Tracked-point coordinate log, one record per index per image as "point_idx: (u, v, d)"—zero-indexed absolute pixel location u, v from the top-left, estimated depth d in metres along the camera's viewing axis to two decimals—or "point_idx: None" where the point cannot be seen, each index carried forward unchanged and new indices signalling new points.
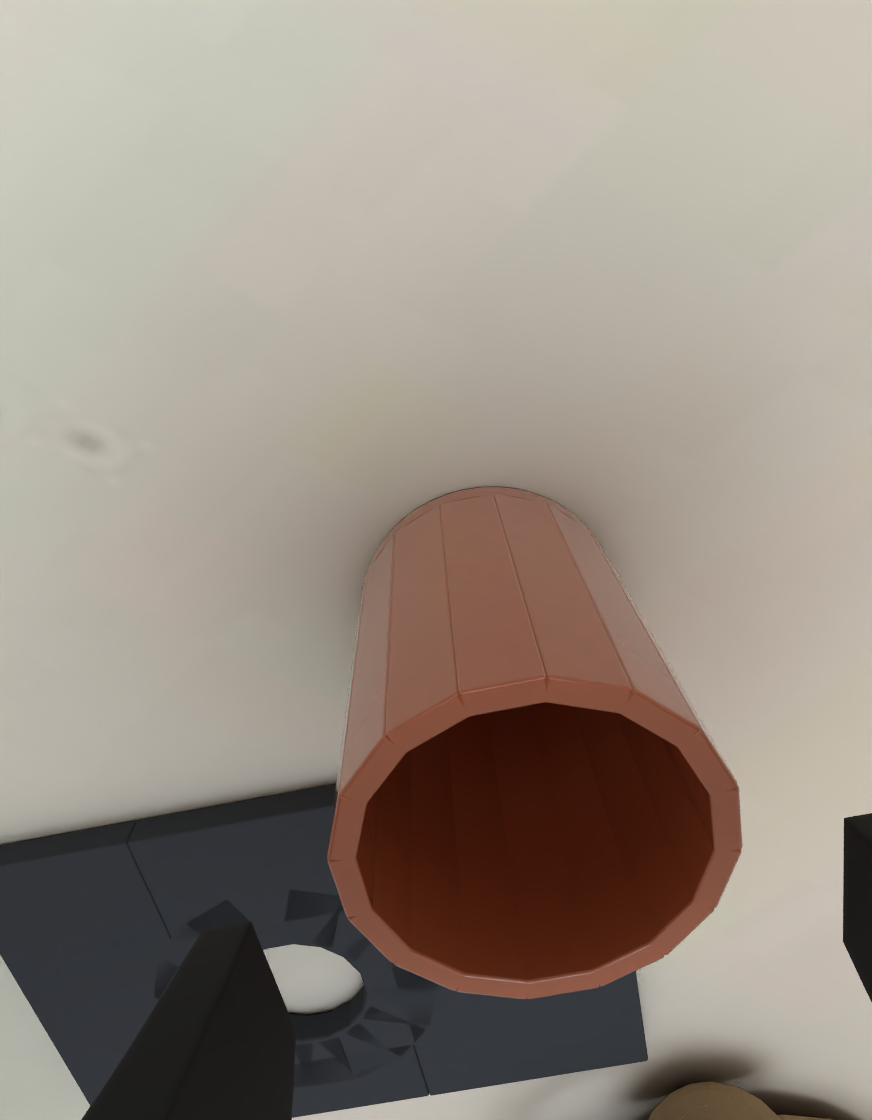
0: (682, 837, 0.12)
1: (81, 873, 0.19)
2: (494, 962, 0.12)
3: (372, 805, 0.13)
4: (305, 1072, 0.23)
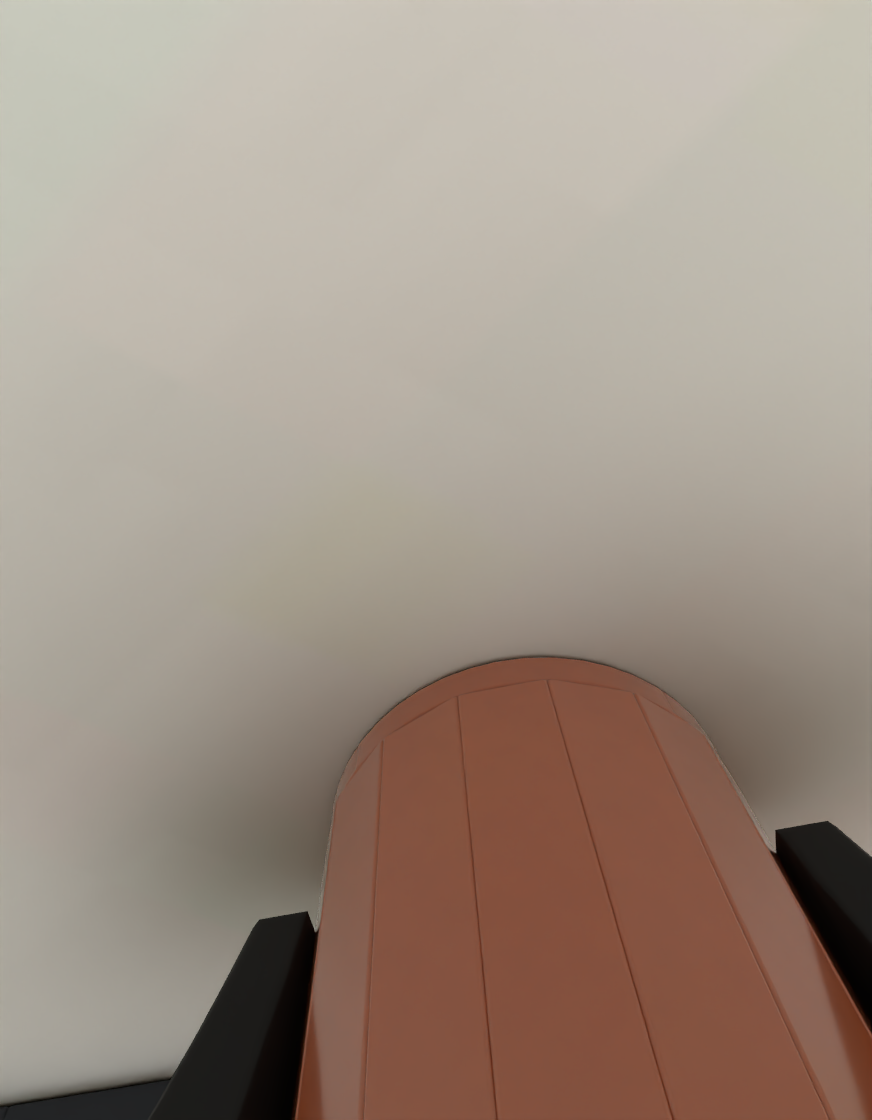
0: None
1: None
2: None
3: None
4: None
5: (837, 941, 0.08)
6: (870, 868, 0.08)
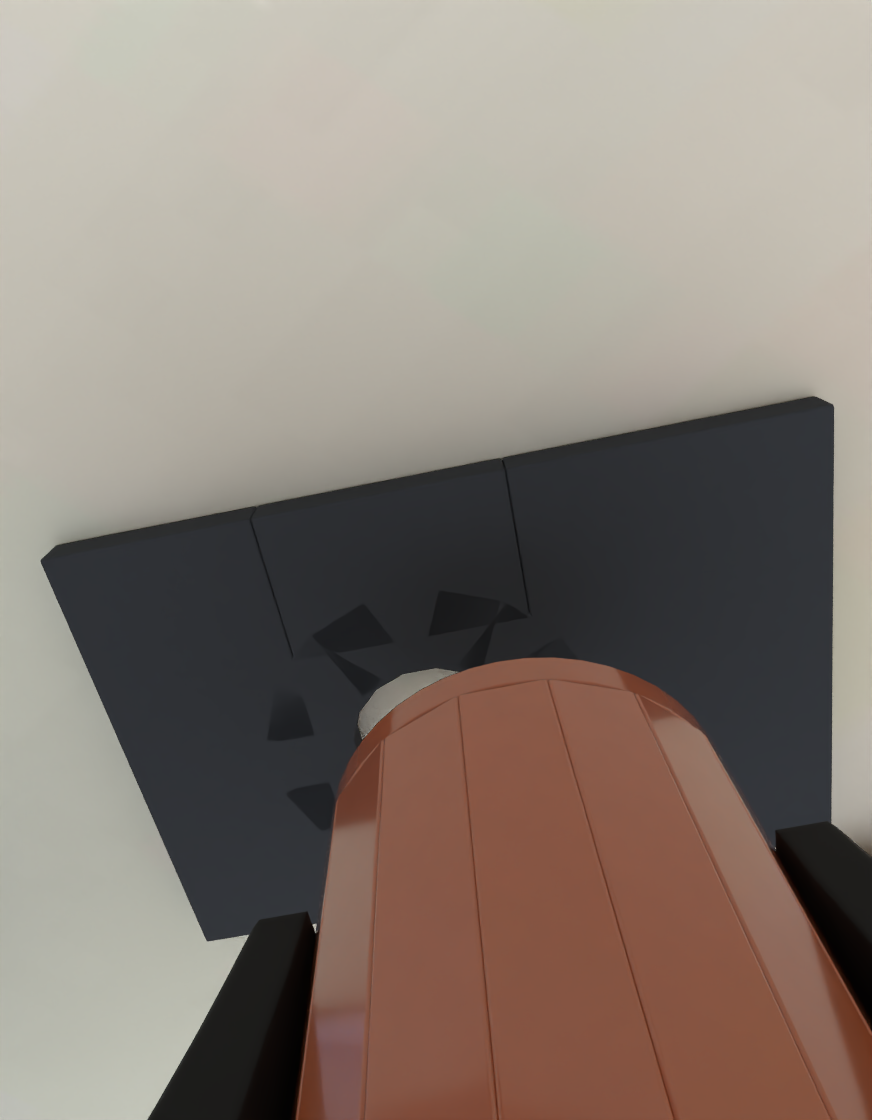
0: None
1: (193, 562, 0.16)
2: None
3: None
4: None
5: (837, 941, 0.08)
6: (870, 868, 0.08)
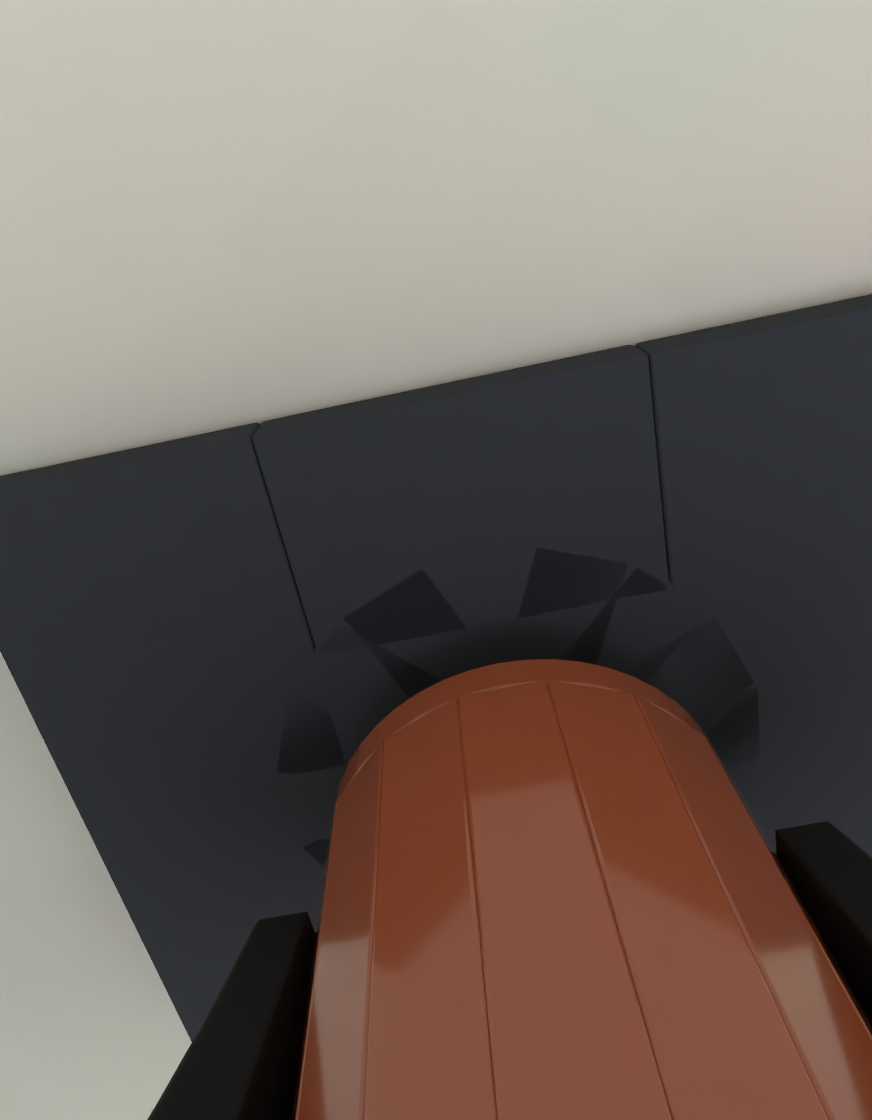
0: None
1: (164, 506, 0.11)
2: None
3: None
4: None
5: (837, 941, 0.08)
6: (870, 868, 0.08)
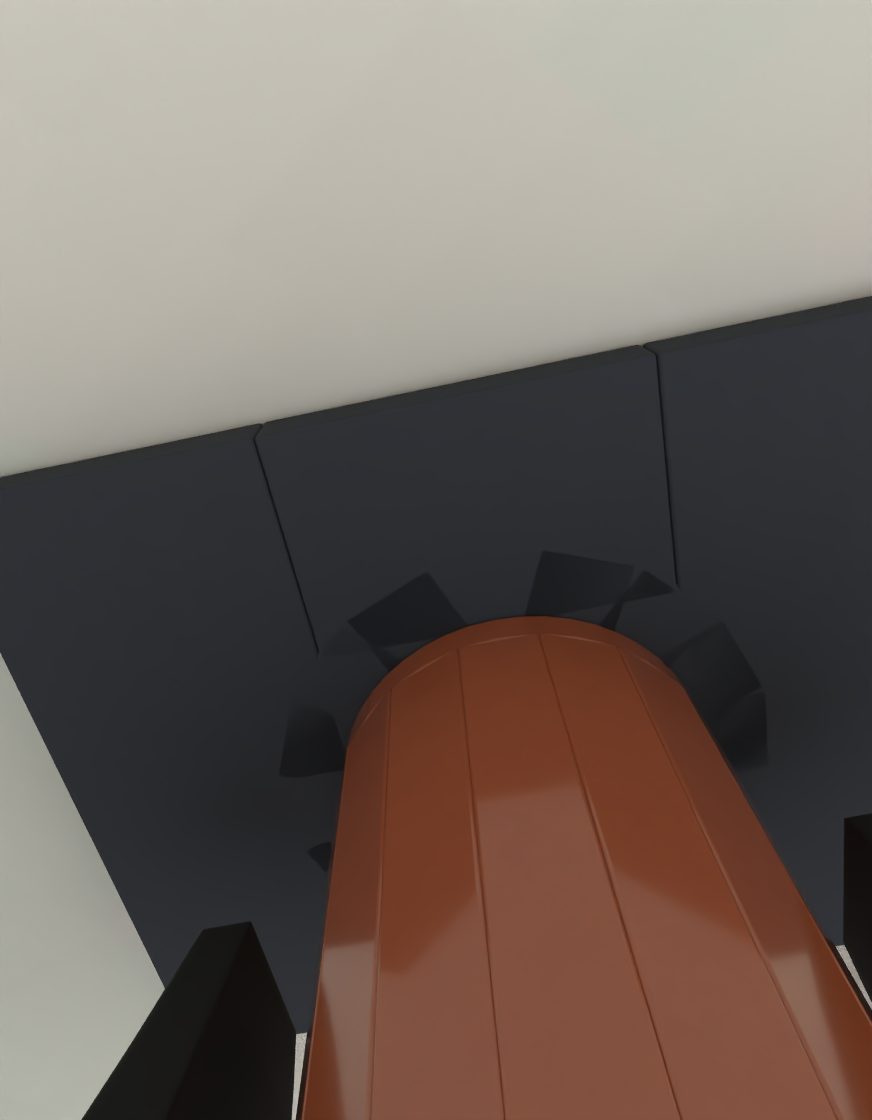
0: None
1: (166, 508, 0.10)
2: None
3: None
4: None
5: None
6: None
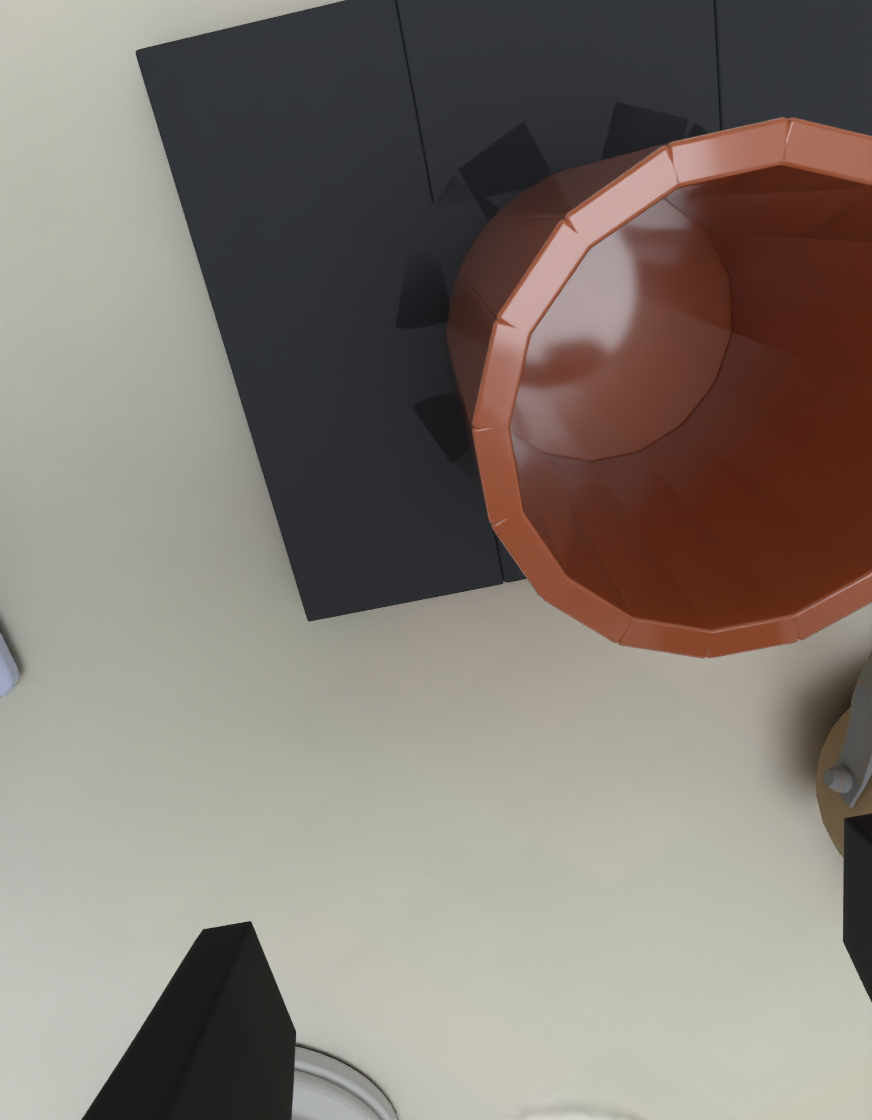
0: None
1: (321, 55, 0.13)
2: (664, 613, 0.10)
3: None
4: None
5: None
6: None
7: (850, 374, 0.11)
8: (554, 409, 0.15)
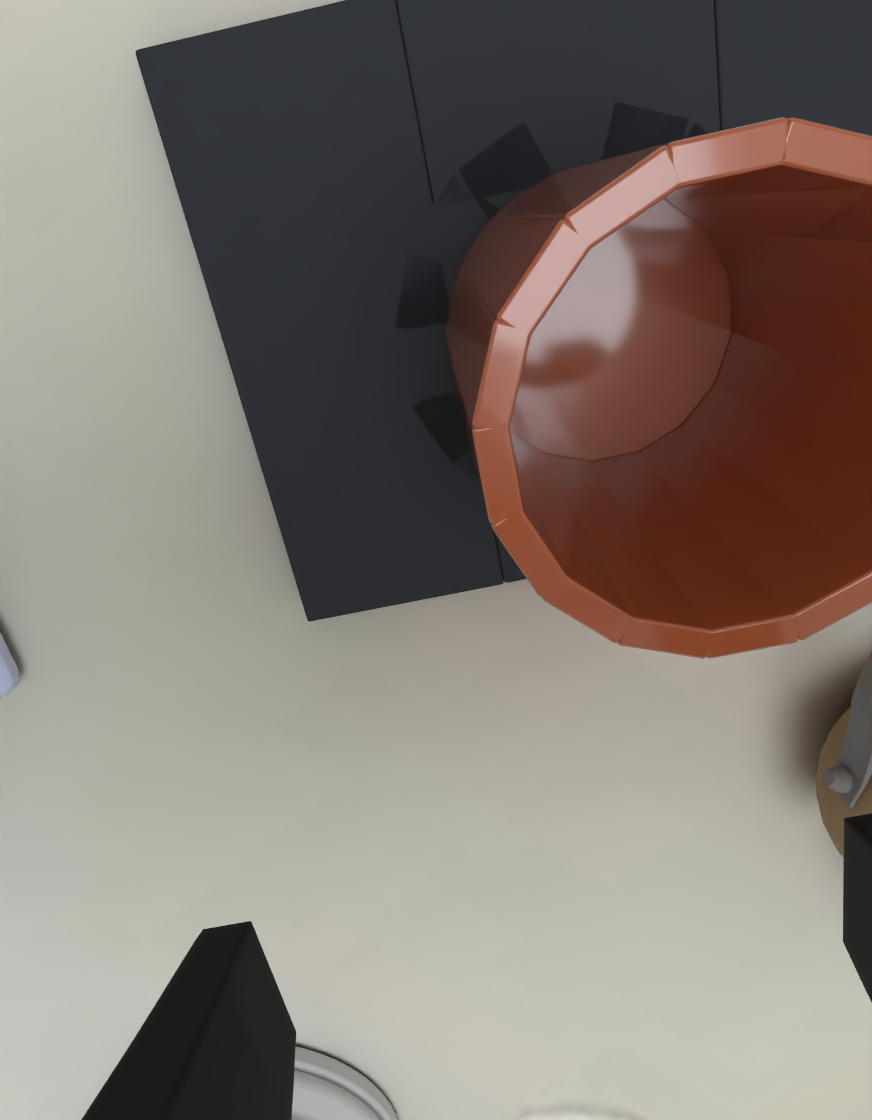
0: None
1: (321, 55, 0.13)
2: (664, 613, 0.10)
3: None
4: None
5: None
6: None
7: (850, 374, 0.11)
8: (554, 409, 0.15)
